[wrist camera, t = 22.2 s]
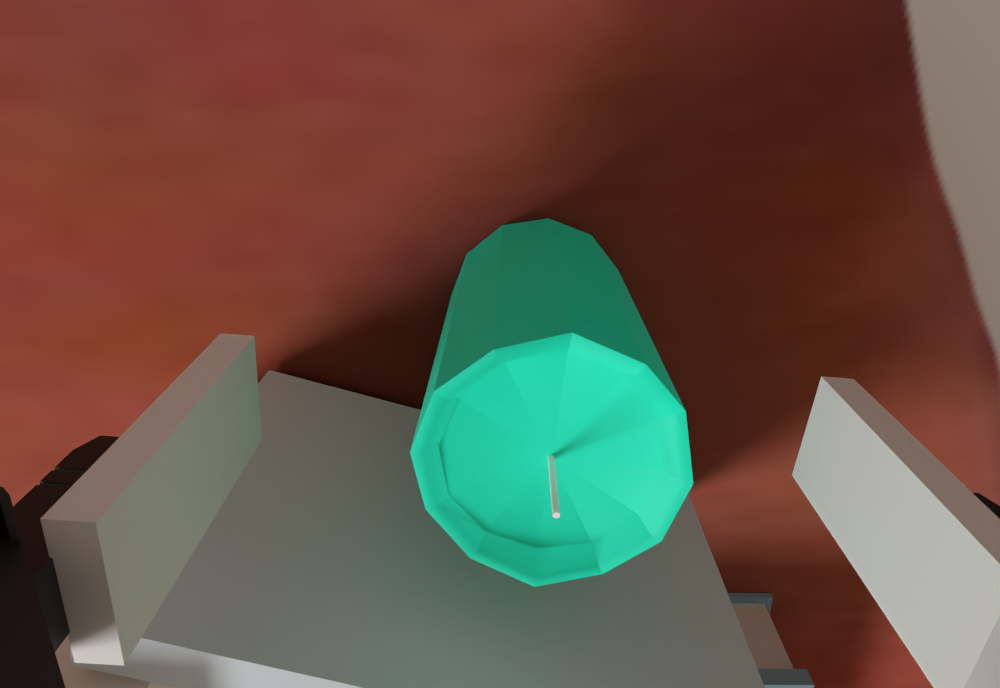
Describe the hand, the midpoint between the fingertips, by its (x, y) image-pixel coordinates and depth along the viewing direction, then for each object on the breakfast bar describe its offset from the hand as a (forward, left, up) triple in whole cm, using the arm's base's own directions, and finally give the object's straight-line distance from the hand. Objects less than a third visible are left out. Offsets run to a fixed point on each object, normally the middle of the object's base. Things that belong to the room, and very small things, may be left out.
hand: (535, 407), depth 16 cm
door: (+7, -2, -8) cm, 11 cm away
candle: (0, 0, -9) cm, 9 cm away
